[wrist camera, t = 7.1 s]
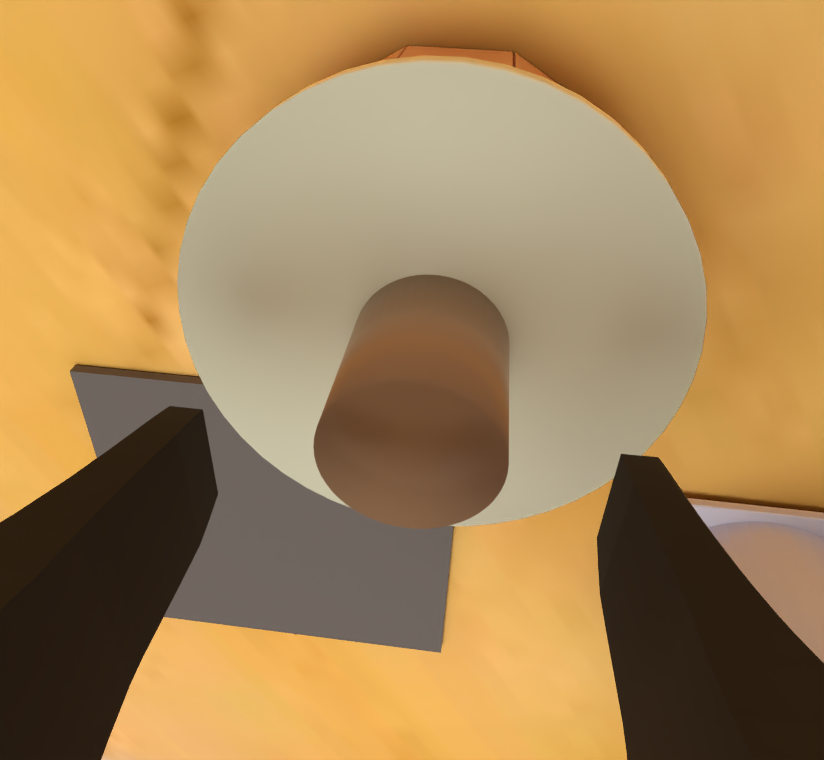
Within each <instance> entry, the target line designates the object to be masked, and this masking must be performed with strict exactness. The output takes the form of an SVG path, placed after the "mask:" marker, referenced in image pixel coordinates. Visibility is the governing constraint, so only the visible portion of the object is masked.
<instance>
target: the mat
mask: <svg viewBox="0 0 824 760" xmlns="http://www.w3.org/2000/svg"><path fill="white" fill-rule="evenodd" d="M70 374H71V377H72V380H73V383H74V386H75V390H76V393H77V396H78V399H79V402H80V405H81V409H82V412H83V415H84V418H85V421H86V424H87V428H88V431H89V434H90V437H91V440H92V443H93V447H94V450H95V453H96V456H97V458H98V457H99V456H101V455H102V454H104V453H105V452H106V451H108V450H109V449H110V448H112V447H113V446H115V445H116V444H117V443H119V442H120V441H121V440H123V439H124V438H125V437H127V436H128V435H130V434H131V433H132V432H134V431H135V430H136V429H138V428H139V427H140V426H142V425H143V424H145V423H146V422H147V421H149V420H150V419H151V418H153V417H154V416H156V415H157V414H158V413H160V412H161V411H163V410H164V409H166V408H167V407H169V406H175V407H185V408H194V409H203V413H204V418H205V424H206V429H207V435H208V440H209V446H210V451H211V457H212V462H213V468H214V473H215V479H216V484H217V490H218V496H217V499H216V502H215V505H214V508H213V511H212V514H211V517H210V520H209V523H208V525H207V528H206V531H205V533H204V536H203V539H202V541H201V544H200V546H199V548H198V550H197V552H196V554H195V556H194V558H193V560H192V562H191V564H190V566H189V568H188V570H187V572H186V574H185V576H184V578H183V580H182V582H181V584H180V586H179V588H178V590H177V592H176V594H175V596H174V598H173V600H172V601H171V603H170V605H169V607H168V609H167V611H166V613H165V615H164V617H169V618H177V619H185V620H192V621H200V622H208V623H216V624H223V625H231V626H239V627H247V628H254V629H262V630H270V631H277V632H285V633H293V634H301V635H308V636H316V637H324V638H332V639H339V640H347V641H355V642H363V643H370V644H378V645H386V646H393V647H401V648H409V649H417V650H424V651H432V652H440V653H441V646H442V636H443V626H444V616H445V606H446V596H447V586H448V576H449V566H450V556H451V546H452V535H453V526H445V527H439V528H430V529H413V528H403V527H398V526H393V525H389V524H385V523H382V522H379V521H376V520H373V519H371V518H368V517H366V516H365V515H363V514H361V513H359V512H357V511H355V510H354V509H352V508H350V507H347V506H345V505H342V504H340V503H337V502H335V501H332V500H330V499H328V498H326V497H324V496H322V495H320V494H318V493H316V492H314V491H312V490H310V489H308V488H306V487H305V486H303V485H301V484H300V483H298V482H297V481H295V480H293V479H292V478H290V477H289V476H287V475H286V474H284V473H282V472H281V471H280V470H279V469H277V468H276V467H275V466H273V465H272V464H271V463H270V462H268V461H267V460H266V459H264V458H263V457H262V456H261V455H260V454H259V453H258V452H257V451H255V450H254V449H253V448H252V447H251V446H250V445H249V444H248V443H247V442H246V441H245V440H244V439H243V438H242V437H241V436H240V435H239V434H238V433H237V431H236V430H235V429H234V428H233V427H232V425H231V424H230V423H229V422H228V421H227V419H226V418H225V417H224V416H223V415H222V413H221V412H220V410H219V409H218V407H217V406H216V404H215V403H214V401H213V400H212V398H211V397H210V395H209V394H208V392H207V390H206V388H205V386H204V384H203V382H202V380H201V378H200V377H192V376H182V375H172V374H162V373H152V372H141V371H131V370H121V369H111V368H101V367H91V366H81V365H75V366H74V367H73V368H72V369H71V370H70Z"/></svg>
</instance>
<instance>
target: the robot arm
mask: <svg viewBox="0 0 824 760" xmlns="http://www.w3.org/2000/svg"><path fill="white" fill-rule="evenodd" d="M217 496H218V490H217V484H216V479H215V473H214V468H213V462H212V457H211V451H210V446H209V440H208V435H207V429H206V424H205V418H204V413H203V409H194V408H185V407H175V406H169V407H167V408H166V409H164V410H163V411H161V412H160V413H158V414H157V415H156V416H154V417H153V418H151V419H150V420H149V421H147V422H146V423H145V424H143V425H142V426H140V427H139V428H138V429H136V430H135V431H134V432H132V433H131V434H130V435H128V436H127V437H125V438H124V439H123V440H121V441H120V442H119V443H117V444H116V445H115V446H113V447H112V448H110V449H109V450H108V451H106V452H105V453H104V454H102V455H101V456H99V457H98V458H97V459H95V460H94V461H92V462H91V463H90V464H88V465H87V466H85V467H84V468H83V469H81V470H80V471H78V472H77V473H76V474H74V475H73V476H71V477H70V478H68V479H67V480H65V481H64V482H62V483H61V484H59V485H58V486H56V487H55V488H53V489H52V490H50V491H49V492H47V493H46V494H44V495H43V496H41V497H39V498H38V499H36V500H35V501H33V502H32V503H30V504H29V505H27V506H26V507H24V508H23V509H21V510H20V511H18V512H17V513H15V514H14V515H12V516H10V517H9V518H7V519H5V520H4V521H2V522H0V760H101V758H102V755H103V753H104V750H105V747H106V744H107V742H108V739H109V737H110V734H111V731H112V729H113V726H114V724H115V721H116V719H117V716H118V714H119V711H120V709H121V706H122V704H123V701H124V699H125V696H126V694H127V691H128V689H129V686H130V684H131V681H132V679H133V677H134V675H135V673H136V671H137V668H138V666H139V664H140V662H141V660H142V658H143V656H144V654H145V652H146V650H147V648H148V646H149V644H150V642H151V640H152V638H153V636H154V634H155V632H156V630H157V629H158V627H159V625H160V623H161V621H162V619H163V617H164V615H165V613H166V611H167V609H168V607H169V605H170V603H171V601H172V600H173V598H174V596H175V594H176V592H177V590H178V588H179V586H180V584H181V582H182V580H183V578H184V576H185V574H186V572H187V570H188V568H189V566H190V564H191V562H192V560H193V558H194V556H195V554H196V552H197V550H198V548H199V546H200V544H201V541H202V539H203V536H204V533H205V531H206V528H207V525H208V523H209V520H210V517H211V514H212V511H213V508H214V505H215V502H216V499H217ZM597 547H598V570H599V586H600V597H601V603H602V609H603V615H604V620H605V626H606V632H607V638H608V643H609V649H610V654H611V660H612V665H613V671H614V677H615V682H616V688H617V693H618V699H619V704H620V710H621V716H622V721H623V728H624V735H625V743H626V750H627V760H824V513H822V512H813V511H804V510H795V509H785V508H776V507H767V506H757V505H748V504H739V503H730V502H720V501H711V500H702V499H693V498H687V497H686V496H685V494H684V493H683V492H682V490H681V489H680V487H679V486H678V484H677V483H676V481H675V480H674V478H673V477H672V476H671V474H670V473H669V471H668V470H667V468H666V467H665V466H664V464H663V463H662V462H661V460H660V459H659V458H658V457H648V456H639V455H629V454H621V455H620V459H619V462H618V466H617V469H616V473H615V476H614V480H613V483H612V487H611V490H610V494H609V498H608V501H607V505H606V508H605V512H604V515H603V519H602V522H601V526H600V529H599V533H598V536H597Z"/></svg>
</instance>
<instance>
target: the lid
mask: <svg viewBox="0 0 824 760" xmlns="http://www.w3.org/2000/svg"><path fill="white" fill-rule="evenodd" d="M177 284H178V299H179V313H180V317H181V322H182V327H183V332H184V336H185V341H186V343H187V346H188V349H189V352H190V355H191V358H192V360H193V363H194V366H195V368H196V370H197V372H198V374H199V376H200V378H201V380H202V382H203V384H204V386H205V388H206V390H207V392H208V394H209V395H210V397H211V398H212V400H213V401H214V403H215V404H216V406H217V407H218V409H219V410H220V412H221V413H222V415H223V416H224V417H225V418H226V419H227V421H228V422H229V423H230V424H231V425H232V427H233V428H234V429H235V430H236V431H237V433H238V434H239V435H240V436H241V437H242V438H243V439H244V440H245V441H246V442H247V443H248V444H249V445H250V446H251V447H252V448H253V449H254V450H255V451H257V452H258V453H259V454H260V455H261V456H262V457H263V458H264V459H266V460H267V461H268V462H270V463H271V464H272V465H273V466H275V467H276V468H277V469H279V470H280V471H281V472H282V473H284V474H286V475H287V476H289V477H290V478H292V479H293V480H295V481H297V482H298V483H300V484H301V485H303V486H305V487H306V488H308V489H310V490H312V491H314V492H316V493H318V494H320V495H322V496H324V497H326V498H328V499H330V500H332V501H335V502H337V503H340V504H342V505H345V506H347V507H350V508H352V509H354V510H355V511H357V512H359V513H361V514H363V515H365V516H366V517H368V518H371V519H373V520H376V521H379V522H382V523H385V524H389V525H393V526H398V527H403V528H413V529H430V528H439V527H445V526H475V525H487V524H496V523H502V522H507V521H513V520H518V519H523V518H527V517H530V516H534V515H537V514H541V513H544V512H548V511H550V510H553V509H555V508H558V507H560V506H563V505H565V504H568V503H570V502H573V501H575V500H577V499H579V498H581V497H583V496H585V495H587V494H589V493H590V492H592V491H594V490H596V489H598V488H600V487H601V486H603V485H604V484H606V483H607V482H609V481H610V480H611V479H613V478H614V476H615V473H616V469H617V466H618V462H619V459H620V455H621V454H629V455H639V456H641V455H643V454H644V453H645V452H646V451H647V449H648V448H649V447H650V446H651V445H652V444H653V443H654V442H655V440H656V439H657V438H658V437H659V436H660V435H661V434H662V433H663V431H664V430H665V429H666V427H667V426H668V424H669V423H670V421H671V420H672V418H673V417H674V415H675V414H676V412H677V411H678V409H679V408H680V406H681V404H682V402H683V400H684V398H685V396H686V394H687V391H688V389H689V387H690V385H691V383H692V381H693V379H694V375H695V372H696V369H697V366H698V362H699V359H700V356H701V353H702V348H703V342H704V335H705V328H706V321H707V303H706V283H705V277H704V271H703V266H702V260H701V254H700V251H699V248H698V245H697V243H696V240H695V237H694V234H693V231H692V228H691V225H690V223H689V220H688V218H687V216H686V215H685V213H684V211H683V209H682V207H681V205H680V203H679V202H678V200H677V198H676V196H675V194H674V192H673V190H672V189H671V187H670V185H669V183H668V182H667V180H666V178H665V176H664V175H663V173H662V172H661V171H660V169H659V168H658V167H657V165H656V164H655V163H654V161H653V160H652V159H651V157H650V156H649V155H648V154H647V152H646V151H645V150H644V148H643V147H642V146H641V145H640V144H639V143H638V142H637V141H636V140H635V139H634V138H633V137H632V136H631V135H630V134H629V133H628V132H627V131H626V130H625V129H624V128H623V127H622V126H621V125H620V124H619V123H617V122H616V121H615V120H614V119H613V118H612V117H610V116H609V115H608V114H606V113H605V112H603V111H602V110H601V109H599V108H598V107H596V106H595V105H593V104H592V103H591V102H589V101H588V100H586V99H585V98H584V97H582V96H581V95H579V94H577V93H575V92H573V91H571V90H569V89H567V88H565V87H563V86H561V85H559V84H557V83H555V82H553V81H551V80H549V79H547V78H545V77H542V76H539V75H536V74H533V73H530V72H527V71H524V70H521V69H518V68H515V67H512V66H509V65H506V64H501V63H496V62H490V61H485V60H479V59H474V58H468V57H454V56H427V55H423V56H414V57H404V58H395V59H386V60H381V61H377V62H373V63H369V64H365V65H361V66H357V67H354V68H350V69H346V70H343V71H341V72H339V73H336V74H334V75H332V76H329V77H327V78H324V79H322V80H320V81H317V82H315V83H313V84H310V85H309V86H307V87H305V88H304V89H302V90H301V91H299V92H297V93H296V94H294V95H292V96H291V97H289V98H288V99H286V100H284V101H283V102H281V103H279V104H278V105H277V106H276V107H275V108H273V109H272V110H271V111H270V112H269V113H267V114H266V115H265V116H264V117H263V118H262V119H260V120H259V121H258V122H257V123H256V124H255V125H253V126H252V127H251V128H250V129H249V130H248V131H246V132H245V133H244V134H243V135H242V136H240V137H239V138H238V140H237V141H236V142H235V143H234V144H233V145H232V147H231V148H230V149H229V150H228V151H227V152H226V154H225V155H224V156H223V157H222V158H221V159H220V161H219V162H218V163H217V164H216V166H215V167H214V169H213V171H212V172H211V174H210V176H209V177H208V179H207V181H206V182H205V184H204V185H203V187H202V189H201V190H200V192H199V194H198V197H197V199H196V201H195V204H194V206H193V209H192V211H191V214H190V216H189V219H188V221H187V224H186V228H185V233H184V237H183V241H182V245H181V249H180V256H179V269H178V281H177Z"/></svg>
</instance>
